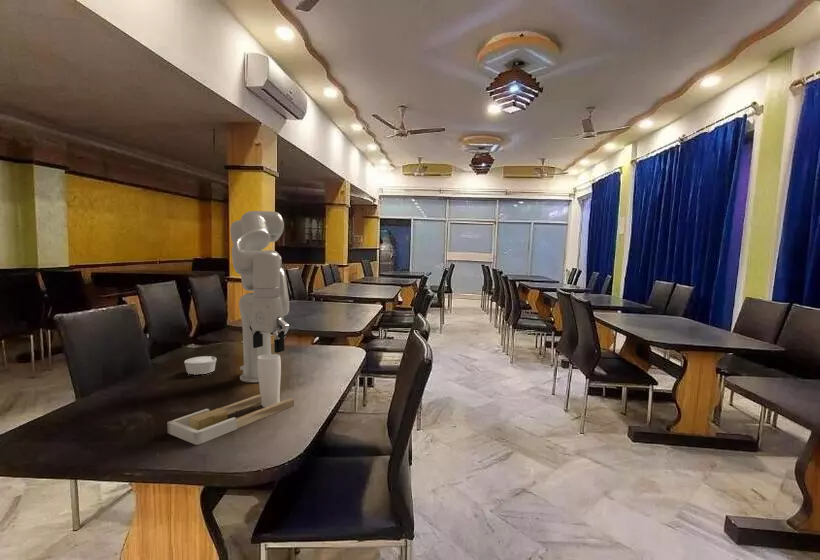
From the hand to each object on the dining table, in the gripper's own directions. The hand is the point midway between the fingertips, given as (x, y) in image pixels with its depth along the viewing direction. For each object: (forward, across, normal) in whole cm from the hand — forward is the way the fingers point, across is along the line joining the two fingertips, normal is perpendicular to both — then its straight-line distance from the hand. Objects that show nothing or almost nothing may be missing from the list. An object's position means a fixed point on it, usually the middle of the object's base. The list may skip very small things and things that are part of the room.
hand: (268, 349), depth 131 cm
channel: (+17, +1, -7) cm, 18 cm away
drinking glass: (+17, +1, 0) cm, 17 cm away
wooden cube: (+17, +1, -19) cm, 25 cm away
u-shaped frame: (+17, +1, -23) cm, 28 cm away
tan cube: (+17, +1, -23) cm, 28 cm away
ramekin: (+19, -51, +9) cm, 55 cm away
